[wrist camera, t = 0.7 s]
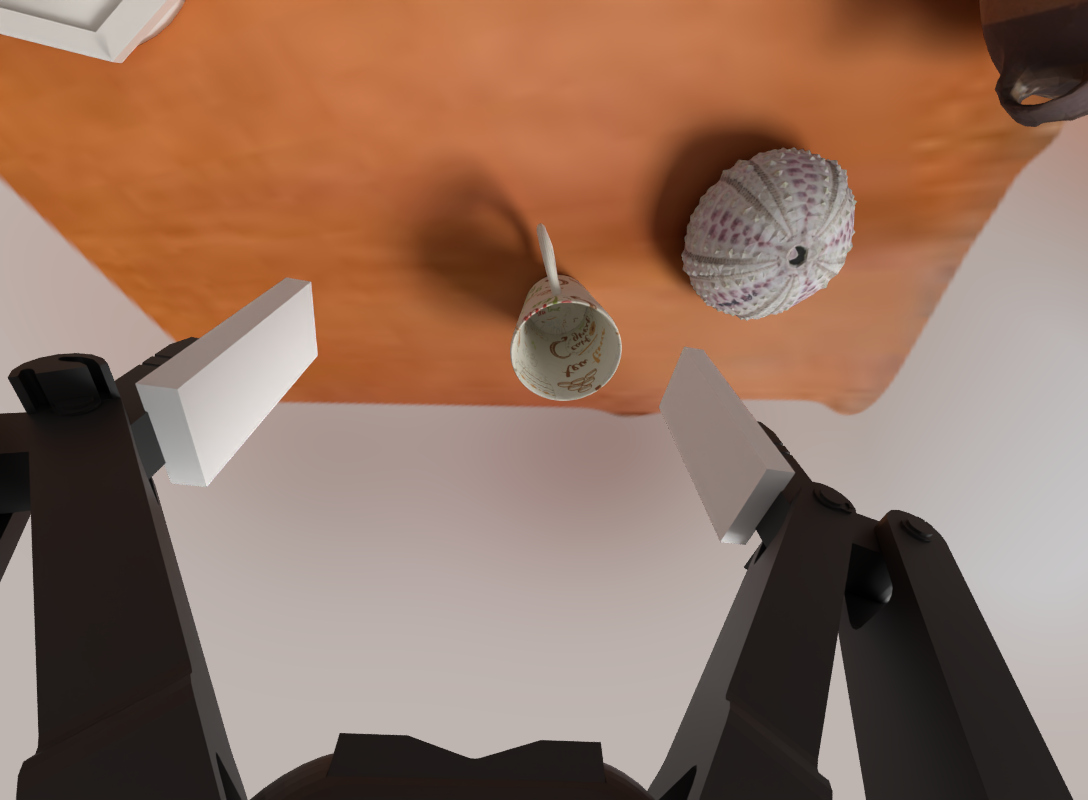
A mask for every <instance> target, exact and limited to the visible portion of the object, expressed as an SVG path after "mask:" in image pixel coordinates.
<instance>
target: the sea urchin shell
mask: <svg viewBox="0 0 1088 800" xmlns="http://www.w3.org/2000/svg"><path fill="white" fill-rule="evenodd" d="M846 173H847V170H843V169H841V167H840V165H838V164H837V160H831V161H829V159H827V160H825V158H821V157H820V155H819V154H811V152H810V150H807V151H804V149H800V150H797V149H796V148H795V147H793V148H791V149H788V150H787V149H786V148H784V147H783V148H781V149H779V150H777V149H773V150H771V151H767V152H765V153H758V154H757V155H756V156H753V157H752V159H750V160H738V161H737V163H735V165H734V166H733V167H732V168H731V169H728V170H723V173H722V175H721V177H720V180H719V181H718V183H716V184H715V185H713V186H711V187H710V188H709V189H708V190H707V192H706V194H705V195H703V196H702V197H701V198H700V202H699V205H698V206H697V207H696V208H695V210H694V213H693V214H692V215H691V216H690V222H689V224H688V225H687V235H686V236H685V237H684V239H685V248H684V251H683V252H682V254H681V256H682V261H683V263H684V264H683V265H684V266H683V269H682V270H684V271H685V272H686V273H687V274H688V275H689V276H690V280H691V285H692V286H693V289H694V290H695V291H696V293H697V294H698V295H700V297H701V299H703V300H704V302H706V305H708V306H712V307H713V308H716V309H717V311H723V312H724V313H725V314H730V315H732V316H734V315H736V316H738V317H739V318H740V319H741V320H742V319H745V320H746V321H747V320H749V319H752V318H753V319H760V318H761V317H766V316H768V315H770V314H775V315H776V314H778V313H782V312H783V311H784V310H786V311H787V310H788V309H789V308H790V307H792V306H794V305H796V304H797V303H799V302H801V301H802V300H804V299H806V298H808V297H809V296H811V295H813V294H814V293H815V292H816V291H818V290H819V289H822V288H826V287H827V284H828V282H829V280H830V279H832V278H833V277H835V276H836V275H837V274H838V273H839V271H840V269H841V268H842V266H843V265H844V263H845V259H846V255H847V253H848V252H849V251H850V250H851V248H852V247H853V245H852V242H851V239H852V235H853V234H854V233H855V231H854V229H853V226H854V209H855V206H854V205H855V204H856V202H857V201H855V200H853V199H854V195H853V194H852V190H851V189H849V188H848V184H847V177H848V176H846Z"/></svg>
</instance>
